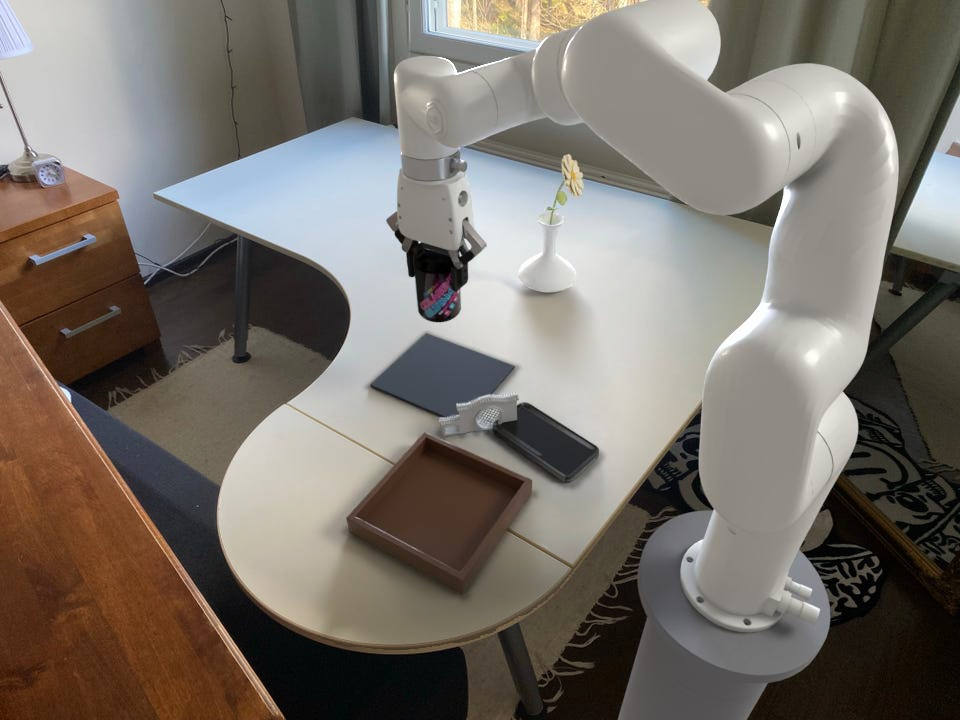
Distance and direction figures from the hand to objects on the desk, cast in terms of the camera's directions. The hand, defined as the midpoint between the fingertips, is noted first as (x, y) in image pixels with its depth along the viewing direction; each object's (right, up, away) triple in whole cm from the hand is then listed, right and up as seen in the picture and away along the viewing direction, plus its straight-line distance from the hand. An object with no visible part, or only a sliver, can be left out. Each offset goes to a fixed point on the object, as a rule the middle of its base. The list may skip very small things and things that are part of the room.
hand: (437, 278), depth 97 cm
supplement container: (0, -5, +4) cm, 6 cm away
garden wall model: (+6, -22, +4) cm, 23 cm away
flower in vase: (+20, +4, +35) cm, 41 cm away
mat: (0, -15, +13) cm, 20 cm away
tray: (+1, -32, -8) cm, 33 cm away
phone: (+16, -24, +1) cm, 29 cm away
